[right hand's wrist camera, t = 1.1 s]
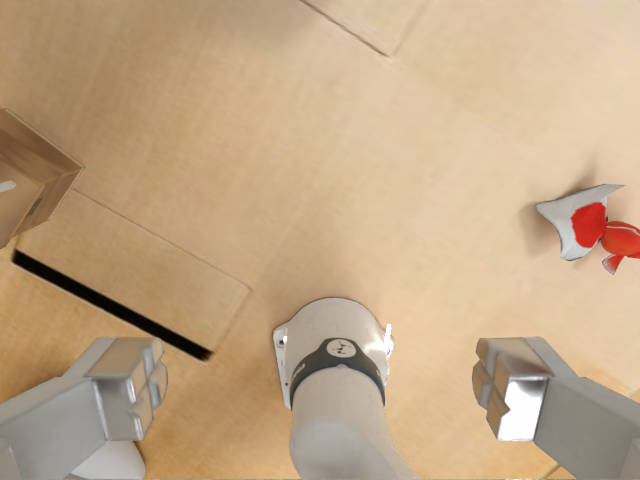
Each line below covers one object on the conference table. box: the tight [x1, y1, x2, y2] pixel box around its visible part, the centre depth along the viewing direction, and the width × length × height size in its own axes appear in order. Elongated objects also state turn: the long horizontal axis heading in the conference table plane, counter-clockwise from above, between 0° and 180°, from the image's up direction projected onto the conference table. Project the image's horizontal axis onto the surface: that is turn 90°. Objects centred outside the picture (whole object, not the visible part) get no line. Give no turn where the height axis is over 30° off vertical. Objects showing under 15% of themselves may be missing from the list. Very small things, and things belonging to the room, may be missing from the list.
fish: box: [536, 184, 640, 274], centre depth 53 cm, size 11×16×10 cm
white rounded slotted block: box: [63, 441, 146, 479], centre depth 62 cm, size 22×23×15 cm
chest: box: [0, 109, 85, 237], centre depth 49 cm, size 11×10×9 cm
